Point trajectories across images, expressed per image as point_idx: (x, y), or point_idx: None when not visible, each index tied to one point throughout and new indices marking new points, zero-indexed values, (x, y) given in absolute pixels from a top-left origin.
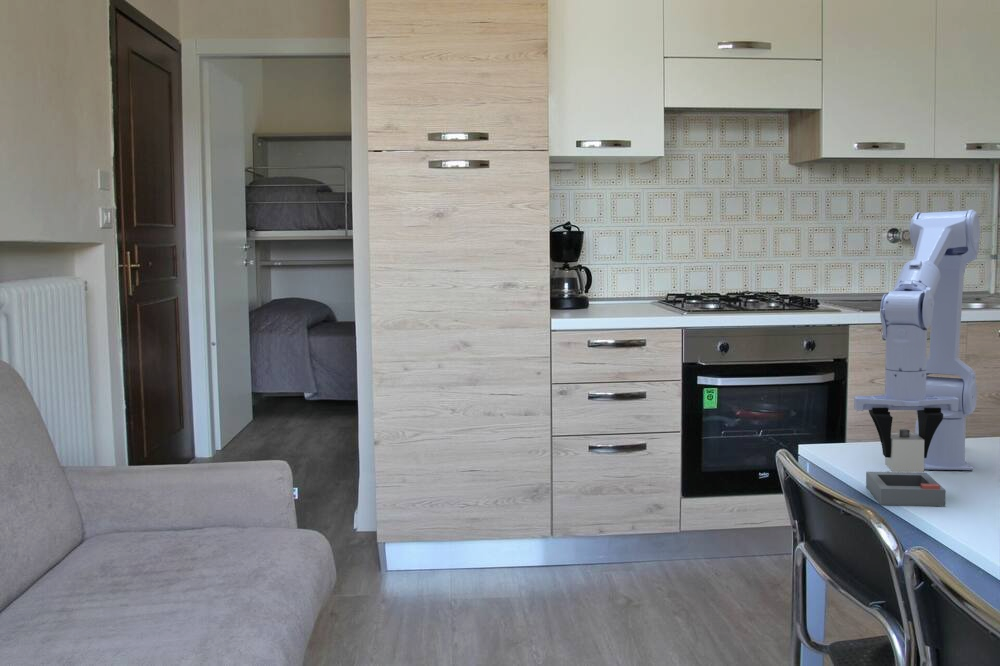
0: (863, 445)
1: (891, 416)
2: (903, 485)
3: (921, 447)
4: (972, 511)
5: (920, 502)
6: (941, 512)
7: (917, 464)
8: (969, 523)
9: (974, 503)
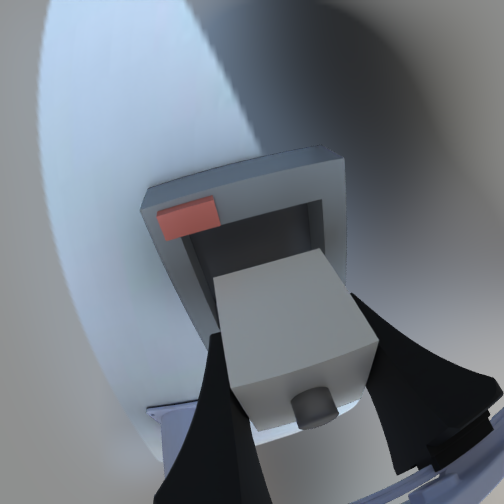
0: (288, 431)
1: (457, 427)
2: None
3: (237, 352)
4: (81, 172)
5: (215, 172)
6: (155, 124)
7: (239, 291)
8: (86, 52)
9: (88, 247)
